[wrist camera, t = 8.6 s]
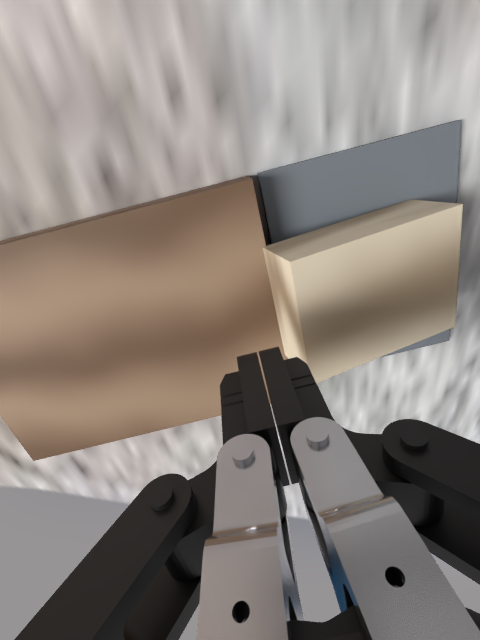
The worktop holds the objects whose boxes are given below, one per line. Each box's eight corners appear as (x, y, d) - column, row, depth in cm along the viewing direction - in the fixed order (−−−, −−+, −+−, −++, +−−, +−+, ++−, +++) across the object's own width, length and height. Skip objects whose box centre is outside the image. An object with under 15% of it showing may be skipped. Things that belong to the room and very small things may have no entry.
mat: (257, 173, 16) (258, 173, 16) (456, 120, 16) (460, 119, 15) (297, 374, 21) (298, 377, 21) (446, 338, 21) (449, 340, 21)
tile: (262, 247, 15) (290, 262, 13) (410, 199, 17) (463, 203, 14) (284, 354, 18) (311, 384, 16) (410, 306, 19) (455, 326, 17)
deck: (-72, 259, 16) (-107, 272, 15) (247, 175, 16) (252, 178, 14) (47, 435, 22) (33, 460, 20) (289, 376, 21) (296, 396, 20)
